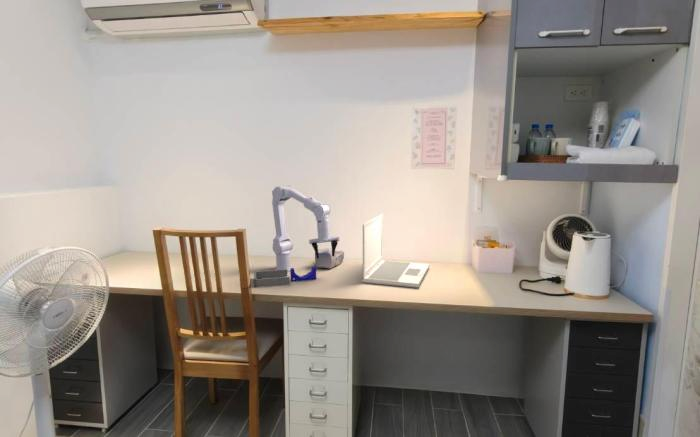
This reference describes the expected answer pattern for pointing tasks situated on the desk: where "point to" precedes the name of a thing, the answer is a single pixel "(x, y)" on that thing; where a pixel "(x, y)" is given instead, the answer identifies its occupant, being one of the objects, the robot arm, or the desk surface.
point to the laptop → (386, 270)
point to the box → (270, 281)
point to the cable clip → (308, 276)
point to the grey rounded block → (328, 258)
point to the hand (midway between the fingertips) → (325, 257)
